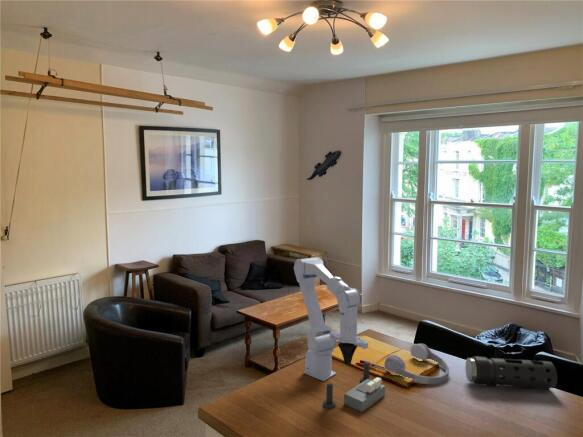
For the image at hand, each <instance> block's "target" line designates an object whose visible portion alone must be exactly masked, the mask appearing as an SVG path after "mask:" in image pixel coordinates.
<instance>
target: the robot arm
mask: <svg viewBox="0 0 583 437" xmlns="http://www.w3.org/2000/svg"><path fill="white" fill-rule="evenodd" d="M293 265H294V266H293V270H294V275H295V278H296V281H297V283H299V288H300V290H301V291H300V292H301V294H302V298H303V302H304V303H303V304H304V306H305V310H306V313H307V317H308V320H309V323H310V329H309V330H308V332H307V333H306V338H307V347H308V350H307V351H306V353H305V359H304V360H305V362H304V363H305V365H304V366H305V370H304V371H303V374H306V375H308V376H310V377H312V378H315V379H317V380H320V381H322V382H324V381H327V380H328V379H330V378H331V377H333V376H335V375H336V374H337V373H336V371H333V370H332V356H333V355H332V354H333V352H334V349H335V348H336V347H337V346H338V348H339V350H340V352H341V354H342V357H343V362H344V364H345V365H347V366H349V365H350V364H352V360H353V358H354V354H355V352H356V350H357V349H358V347H360V348H362V350H366V349H368V348H369V342H368V341H367V340H364V339H362V338H360V337H358V307H359V305H360V304H361V303H362V295H361V292H360V291H359V289H358V288H353V287H350V286H349V285H348V284H347V283H346V282H345V281H343V280H342V278H341V277H340V276H333V274H331V273H330V271H329V270H328V269H327V268H326V267H325V265H324V261H323V260H322V259H321V258H320V257H319V256H315V257H307V258H297V259H296V260H295V261H294V264H293ZM318 278H319V279H320V280H321V281H323V282H324V283H325V284H326V289H327V291H329V292H330V293H331V294H332V296H334V297H335V298H336V302H337V306H338V310H339V313H340V314H339V315H340V316H339V318H340V319H339V321H340V322H339V332H337V331H334V330H333V328H332V326H330V325H328V324H326V323H325V319H324V315H323V312H322V309H321V305H320V302H319V299H318V296H317V292H316V288H315V285H314V283H315V281H316V280H317V279H318ZM338 341H339V343H338ZM337 344H338V345H337Z"/></svg>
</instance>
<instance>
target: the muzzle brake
mask: <svg viewBox="0 0 583 437" xmlns="http://www.w3.org/2000/svg"><path fill="white" fill-rule="evenodd" d="M546 370H547V371H546ZM465 375H466V379H467V381H468V382H469V383H473V384H474V385H481V386H482V385H483V386H485V387H494V388H496V387H497V386H509V387H511V386H512V387H513V388H521V389H533V390H546V391H547V390H548V391H549V390H550V389H554V388H555V387H557V383H558V374H557V370H556V367H555V365H554V363H553V362H552V361H549V360H548V361H547V360H533V359H532V360H530V359H529V360H528V359H516V358H514V359H513V358H501V357H500V358H498V357H495V358H494V357H490V358H487V357H486V356H479V355H477V356H476V355H475V356H472V357H467V358H466V359H465Z"/></svg>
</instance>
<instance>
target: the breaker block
mask: <svg viewBox="0 0 583 437" xmlns="http://www.w3.org/2000/svg"><path fill="white" fill-rule="evenodd" d="M370 381H373V382H375V390H374V391H372V392H371V393H369V392H367V391H366V384H367V383H369V382H370ZM343 395H344V396H343V404H344V405H346V406H348V407H350V408H351V409H352V408H353V409H354V410H356V411H359V412H361V413H363V412H364V411H366V410H367V409H368V408H370V407H372V405H374V404H375V403H377V402H378V401H379V400H381V399H383V397H385V396H386V385H384V384H382V378H381V377H378V376H377V377H375V378H374V379H372V380H369V379H366V380H365V381H363V382H362V383H361V382H360V383H359V384H357V385H355V386H354V387H353V388H351V389H349V390H348V391H346V392H345V393H344V394H343Z"/></svg>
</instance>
